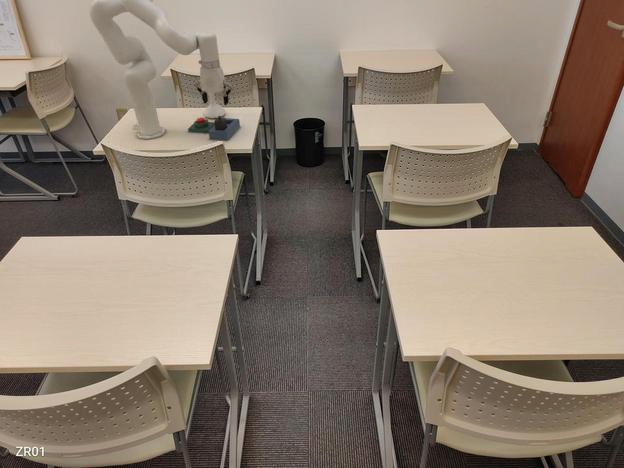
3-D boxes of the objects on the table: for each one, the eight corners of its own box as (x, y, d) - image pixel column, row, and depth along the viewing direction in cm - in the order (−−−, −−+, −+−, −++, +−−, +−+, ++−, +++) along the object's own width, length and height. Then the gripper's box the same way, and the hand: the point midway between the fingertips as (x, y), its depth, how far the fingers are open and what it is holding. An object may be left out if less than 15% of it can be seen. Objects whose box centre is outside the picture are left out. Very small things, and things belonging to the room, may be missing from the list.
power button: (196, 123, 226) (195, 120, 225) (199, 120, 229) (198, 117, 228) (203, 124, 226) (202, 120, 225) (206, 121, 228) (205, 117, 227)
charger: (216, 137, 220) (213, 117, 215) (220, 134, 223) (216, 114, 218) (225, 138, 219) (221, 118, 214) (228, 134, 223) (225, 114, 217)
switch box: (188, 132, 227) (187, 125, 225) (196, 124, 234) (195, 117, 232) (208, 133, 225) (206, 126, 223) (215, 125, 232) (214, 118, 230)
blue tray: (209, 139, 219) (208, 131, 217) (223, 125, 231) (221, 117, 229) (227, 140, 217) (226, 132, 215) (240, 126, 229) (239, 118, 227)
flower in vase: (206, 111, 247) (197, 62, 232) (228, 111, 246) (220, 61, 231) (200, 122, 236) (190, 70, 221) (223, 121, 235) (215, 70, 221)
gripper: (187, 65, 201) (194, 105, 211) (226, 67, 198) (231, 107, 208) (195, 60, 207) (201, 98, 217) (233, 62, 204) (237, 101, 214)
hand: (216, 103), depth 212 cm, fingers open, 9 cm apart
